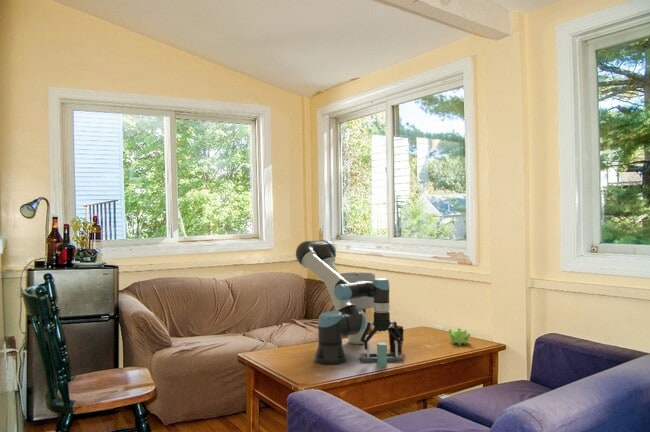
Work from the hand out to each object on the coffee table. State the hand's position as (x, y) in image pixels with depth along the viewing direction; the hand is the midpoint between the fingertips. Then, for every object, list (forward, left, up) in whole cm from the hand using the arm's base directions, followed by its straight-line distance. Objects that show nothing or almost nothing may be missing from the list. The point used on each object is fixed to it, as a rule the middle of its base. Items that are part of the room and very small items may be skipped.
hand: (382, 356), depth 246 cm
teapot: (+48, +37, -4) cm, 61 cm away
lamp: (-7, +44, -4) cm, 45 cm away
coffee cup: (+11, +23, -4) cm, 26 cm away
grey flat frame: (+1, +9, -4) cm, 10 cm away
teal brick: (0, 0, -4) cm, 4 cm away
